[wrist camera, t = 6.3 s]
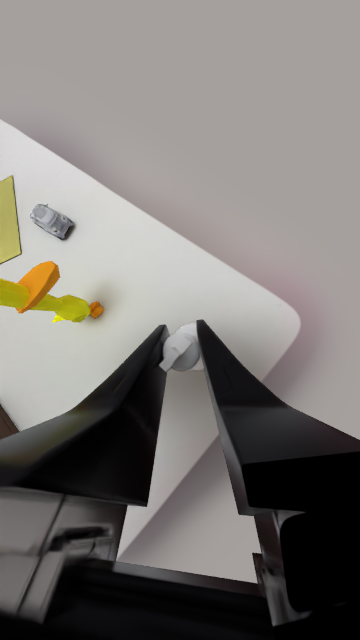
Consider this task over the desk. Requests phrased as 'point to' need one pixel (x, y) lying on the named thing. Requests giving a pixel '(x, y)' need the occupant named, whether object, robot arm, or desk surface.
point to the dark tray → (6, 425)
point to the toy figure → (45, 295)
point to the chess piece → (182, 350)
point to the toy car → (50, 220)
